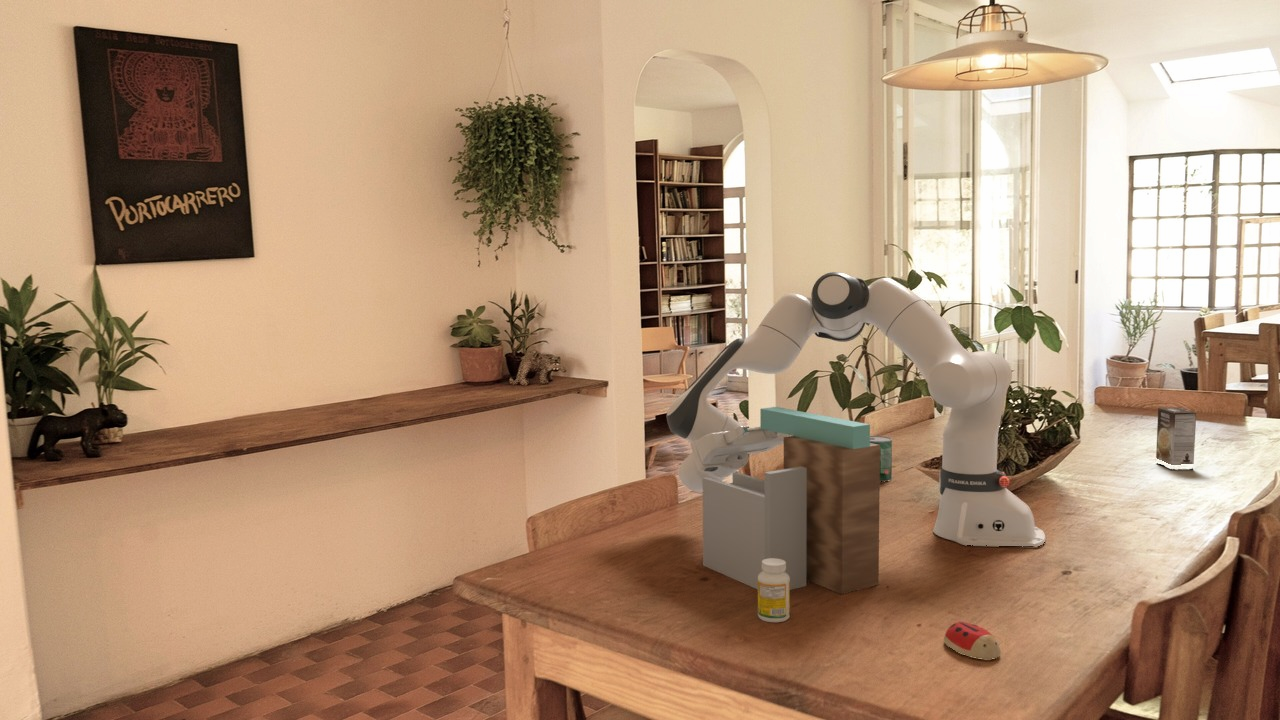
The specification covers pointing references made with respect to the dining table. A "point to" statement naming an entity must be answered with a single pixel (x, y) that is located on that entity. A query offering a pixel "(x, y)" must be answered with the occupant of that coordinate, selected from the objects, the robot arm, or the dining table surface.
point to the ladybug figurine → (972, 641)
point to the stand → (839, 512)
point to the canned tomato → (884, 456)
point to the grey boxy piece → (756, 524)
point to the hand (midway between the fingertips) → (763, 426)
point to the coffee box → (1176, 435)
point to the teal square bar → (816, 427)
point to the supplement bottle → (773, 591)
